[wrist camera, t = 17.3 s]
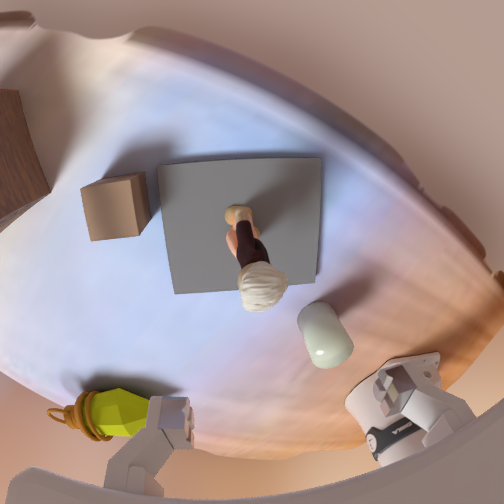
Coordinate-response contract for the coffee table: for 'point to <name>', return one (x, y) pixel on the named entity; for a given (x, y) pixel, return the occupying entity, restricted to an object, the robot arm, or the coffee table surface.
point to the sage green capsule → (324, 335)
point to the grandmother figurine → (253, 262)
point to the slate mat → (215, 226)
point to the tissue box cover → (17, 162)
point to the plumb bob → (106, 414)
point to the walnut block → (116, 206)
